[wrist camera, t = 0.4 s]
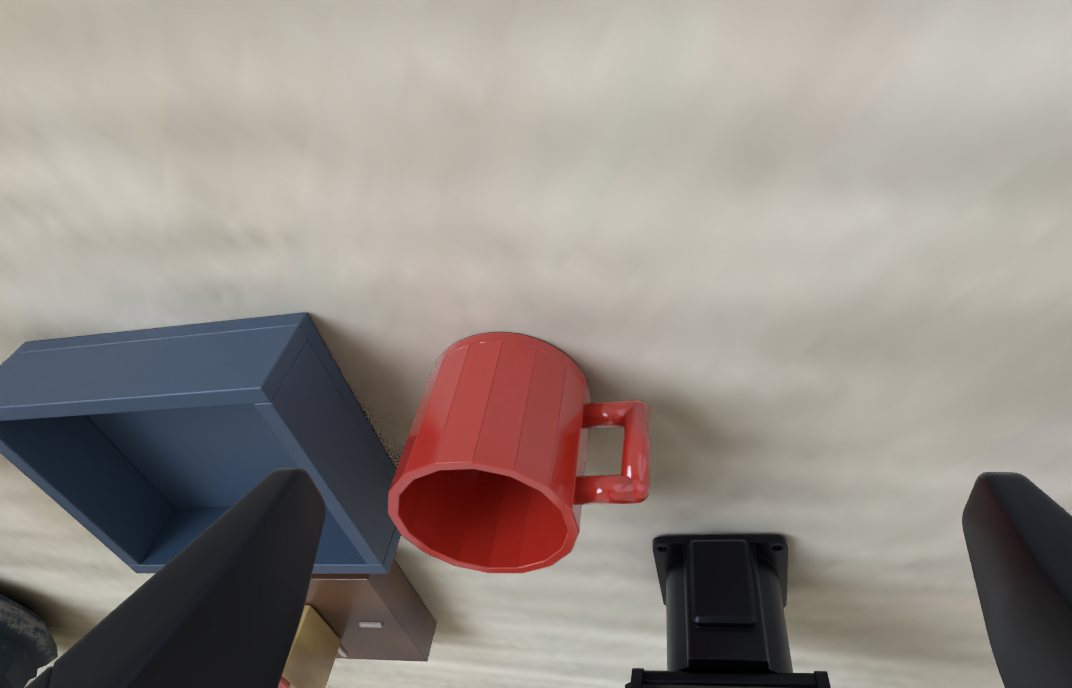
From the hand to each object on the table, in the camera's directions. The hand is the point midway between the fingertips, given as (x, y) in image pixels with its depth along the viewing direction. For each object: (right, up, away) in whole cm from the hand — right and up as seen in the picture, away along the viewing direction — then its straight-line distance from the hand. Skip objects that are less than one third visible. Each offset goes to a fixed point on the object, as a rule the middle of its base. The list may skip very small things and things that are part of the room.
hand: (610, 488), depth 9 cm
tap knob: (-14, -15, +32) cm, 38 cm away
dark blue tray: (-16, -2, +24) cm, 28 cm away
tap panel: (-14, -13, +33) cm, 39 cm away
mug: (-1, 0, +19) cm, 19 cm away
